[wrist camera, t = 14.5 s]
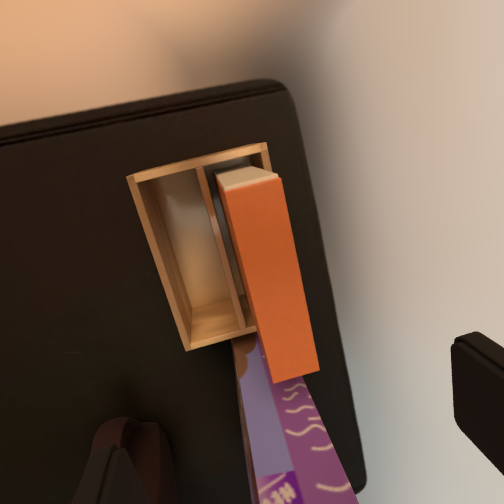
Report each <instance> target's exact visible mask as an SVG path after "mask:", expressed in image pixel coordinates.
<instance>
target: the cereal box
mask: <svg viewBox="0 0 504 504" xmlns="http://www.w3.org/2000/svg"><path fill="white" fill-rule="evenodd" d="M231 343H232V352H233V361H234V369H235V378H236V387H237V395H238V404H239V413H240V422H241V430H242V439H243V446H244V453H245V459H246V466H247V473H248V480H249V487H250V494H251V501H252V504H359V503H358V501H357V498H356V496H355V494H354V491H353V489H352V487H351V485H350V483H349V480H348V478H347V476H346V474H345V471H344V469H343V467H342V465H341V462H340V460H339V458H338V456H337V454H336V451H335V449H334V447H333V445H332V442H331V440H330V438H329V436H328V433H327V431H326V429H325V427H324V424H323V422H322V420H321V418H320V416H319V413H318V411H317V409H316V407H315V404H314V402H313V400H312V398H311V395H310V393H309V391H308V389H307V387H306V384H305V382H304V380H303V378H302V376H298V377H295V378H292V379H288V380H285V381H281V382H278V383H275V384H273V381H272V378H271V375H270V372H269V368H268V365H267V362H266V359H265V356H264V352H263V349H262V346H261V343H260V340H259V336H258V333H257V331H255V332H252V333H248V334H245V335H241V336H238V337H234V338H231Z"/></svg>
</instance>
